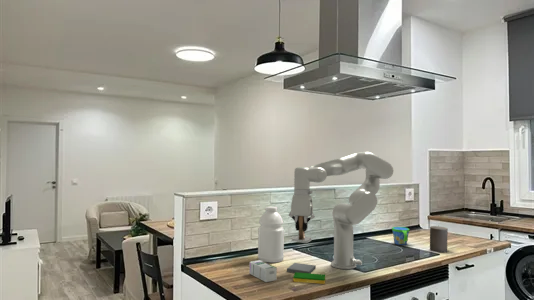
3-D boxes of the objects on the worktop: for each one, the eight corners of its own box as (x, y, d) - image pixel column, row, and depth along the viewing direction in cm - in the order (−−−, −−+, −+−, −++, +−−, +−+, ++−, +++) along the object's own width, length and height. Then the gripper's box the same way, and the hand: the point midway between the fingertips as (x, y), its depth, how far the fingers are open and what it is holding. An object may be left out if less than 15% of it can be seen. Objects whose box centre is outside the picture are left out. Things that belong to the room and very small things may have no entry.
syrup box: (266, 269, 157) (249, 260, 169) (266, 283, 157) (248, 273, 169) (277, 267, 161) (259, 259, 173) (276, 280, 161) (259, 271, 173)
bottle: (288, 258, 196) (289, 206, 197) (274, 264, 185) (275, 209, 185) (267, 254, 204) (267, 204, 205) (252, 260, 193) (253, 207, 193)
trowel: (311, 239, 177) (311, 213, 177) (306, 243, 172) (306, 215, 171) (296, 237, 181) (296, 211, 181) (291, 241, 176) (291, 214, 175)
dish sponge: (294, 277, 166) (294, 272, 166) (325, 279, 163) (325, 274, 164) (293, 282, 159) (293, 277, 159) (324, 285, 156) (324, 279, 157)
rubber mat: (315, 268, 178) (315, 265, 178) (308, 274, 168) (308, 271, 168) (294, 265, 183) (294, 262, 183) (286, 271, 173) (286, 268, 173)
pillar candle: (426, 250, 218) (427, 225, 218) (434, 247, 224) (434, 223, 224) (443, 253, 210) (443, 227, 210) (450, 250, 217) (450, 225, 217)
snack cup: (413, 247, 224) (413, 230, 225) (396, 246, 225) (396, 230, 225) (404, 241, 240) (404, 226, 240) (388, 241, 240) (388, 225, 241)
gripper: (320, 193, 177) (319, 230, 176) (288, 191, 183) (288, 227, 183) (315, 194, 170) (315, 233, 169) (283, 192, 177) (282, 230, 176)
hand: (301, 230), depth 176 cm, fingers closed on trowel, 3 cm apart
